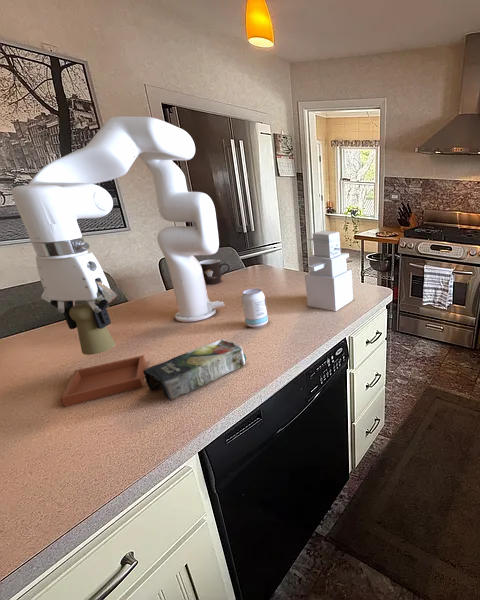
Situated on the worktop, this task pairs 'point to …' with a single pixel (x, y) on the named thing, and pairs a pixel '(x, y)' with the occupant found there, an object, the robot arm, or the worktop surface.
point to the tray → (104, 380)
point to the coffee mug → (212, 271)
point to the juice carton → (195, 368)
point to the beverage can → (254, 308)
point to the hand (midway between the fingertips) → (90, 325)
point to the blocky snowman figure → (328, 273)
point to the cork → (90, 331)
